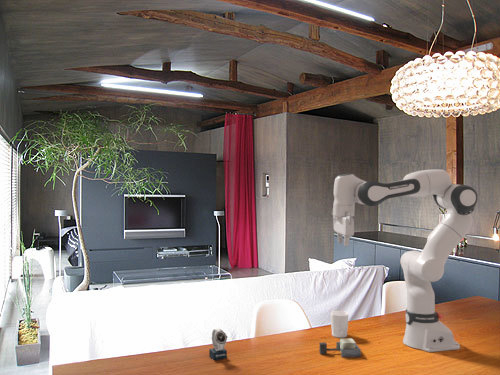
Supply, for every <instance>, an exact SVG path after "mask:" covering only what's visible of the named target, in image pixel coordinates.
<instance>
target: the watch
mask: <svg viewBox="0 0 500 375" xmlns="http://www.w3.org/2000/svg"><path fill="white" fill-rule="evenodd" d="M227 340H228V336H227V334H226V333H225V332H224V330H223V329H222V328H214V329H213V330H212V332H211V342H212V343H211V344H212V346H213V347H212V348H209V349H208V350H209V354H208V356H209V358H210V359H211V360H212V359H213V360H216V361H220V359H221V360H224V359H227V358H228V354H227V353H228V350H227V349H226V348H225V347H226V344H227ZM213 360H212V361H213Z"/></svg>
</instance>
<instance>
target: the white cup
mask: <svg viewBox="0 0 500 375" xmlns="http://www.w3.org/2000/svg"><path fill="white" fill-rule="evenodd" d="M330 326H331V336H332V337H334V338H339V339H344V338H346V337H348V329H349V328H348V327H349V312H347V311H344V310H331V312H330Z"/></svg>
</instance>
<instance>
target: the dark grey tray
mask: <svg viewBox="0 0 500 375" xmlns="http://www.w3.org/2000/svg"><path fill="white" fill-rule="evenodd" d="M335 346H336V348H340V341H336V345H335ZM361 351H362V350H361V348H360V346H358V344H357V343H356V349H341V352H340V356H341V358H361V354H362V353H361Z"/></svg>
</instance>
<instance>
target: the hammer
mask: <svg viewBox="0 0 500 375" xmlns="http://www.w3.org/2000/svg"><path fill="white" fill-rule="evenodd" d="M339 342H340V348H328V344H327V342H319V354H320V355H327V352H328V351H329V352H330V351H331V352H333V351H335V352H336V351H338V352H340V353H341V349H356V344H357V342H356V341H355V340H354V339H353V338H339Z"/></svg>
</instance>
